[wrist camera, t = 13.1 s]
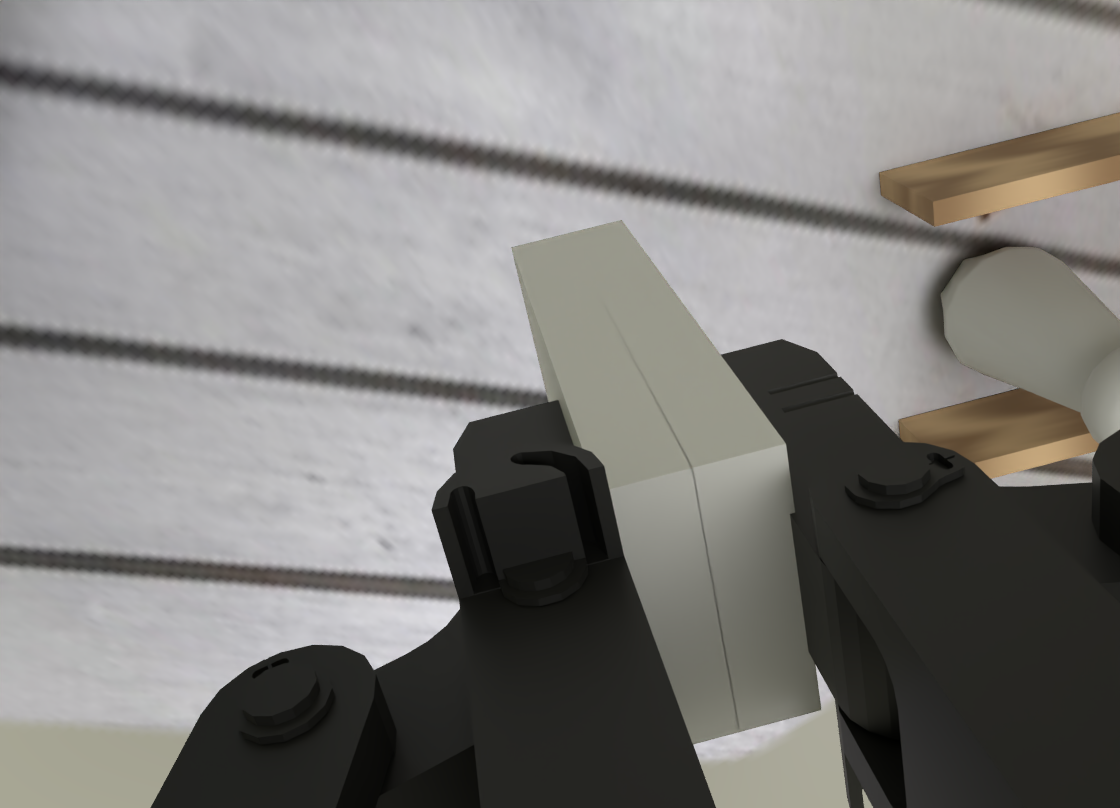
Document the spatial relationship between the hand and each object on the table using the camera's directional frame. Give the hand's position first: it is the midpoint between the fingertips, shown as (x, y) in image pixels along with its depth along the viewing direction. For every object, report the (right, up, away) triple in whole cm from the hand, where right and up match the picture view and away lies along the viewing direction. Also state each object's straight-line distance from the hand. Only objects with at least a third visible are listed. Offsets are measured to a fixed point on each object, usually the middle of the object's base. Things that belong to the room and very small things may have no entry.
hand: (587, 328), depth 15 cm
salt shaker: (+19, +4, +34) cm, 39 cm away
